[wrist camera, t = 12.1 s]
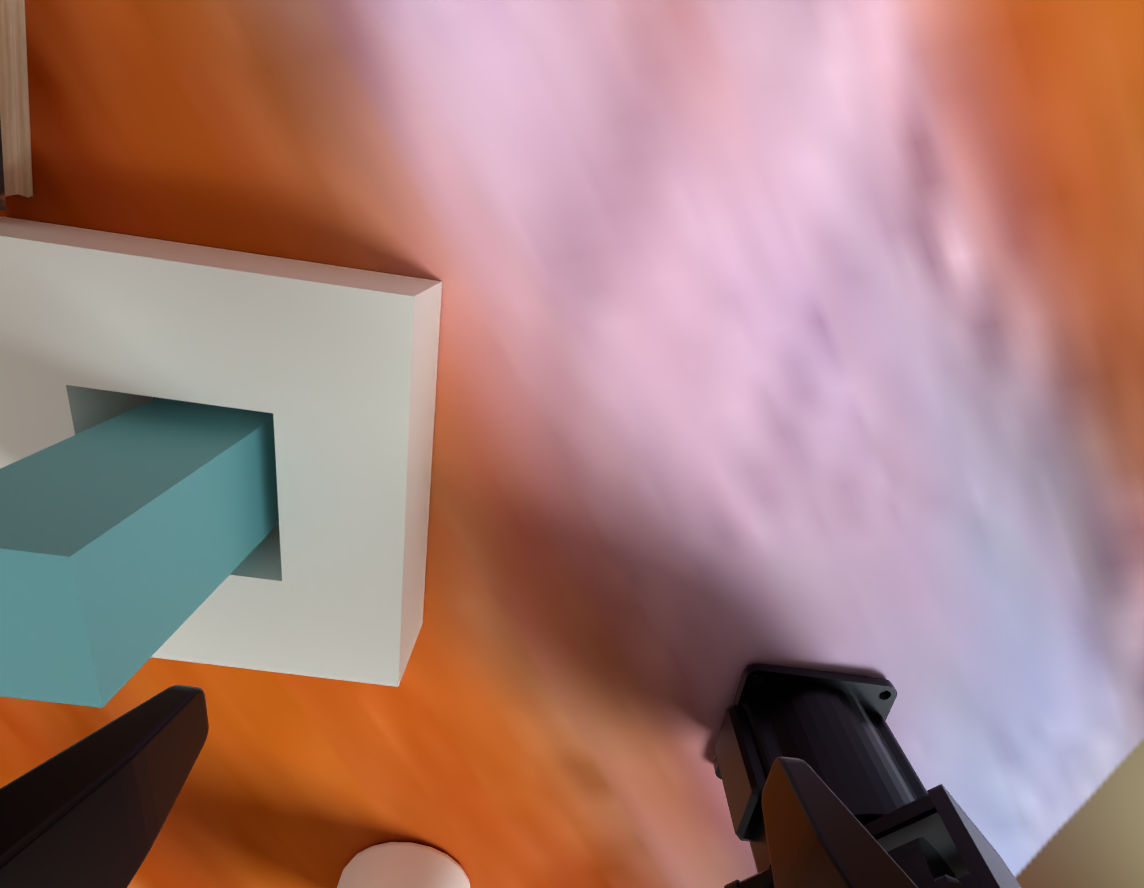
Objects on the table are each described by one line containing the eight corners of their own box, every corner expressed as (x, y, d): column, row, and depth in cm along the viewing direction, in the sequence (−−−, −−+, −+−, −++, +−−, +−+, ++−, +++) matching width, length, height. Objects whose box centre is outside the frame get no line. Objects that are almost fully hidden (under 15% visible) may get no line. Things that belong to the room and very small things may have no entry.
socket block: (442, 281, 19) (413, 296, 16) (422, 623, 24) (398, 686, 21) (4, 216, 19) (-118, 218, 15) (80, 580, 24) (1, 639, 21)
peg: (296, 401, 21) (69, 556, 12) (300, 500, 22) (102, 707, 13) (182, 386, 21) (-140, 531, 11) (194, 486, 22) (-83, 686, 13)
